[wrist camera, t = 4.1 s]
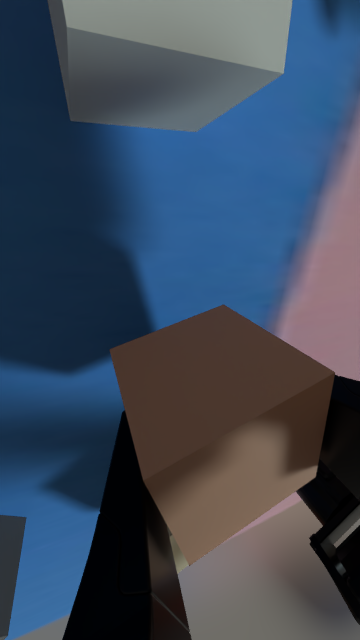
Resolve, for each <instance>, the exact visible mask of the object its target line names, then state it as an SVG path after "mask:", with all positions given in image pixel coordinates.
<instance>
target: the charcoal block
mask: <svg viewBox="0 0 360 640" xmlns="http://www.w3.org/2000/svg"><path fill="white" fill-rule="evenodd" d="M25 523H26V517H17V516H5V515H0V640H4V639H5V638H6V637H7V636H8V631H9V625H10V619H11V612H12V606H13V599H14V593H15V587H16V580H17V574H18V568H19V561H20V555H21V549H22V542H23V536H24V529H25Z"/></svg>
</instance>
